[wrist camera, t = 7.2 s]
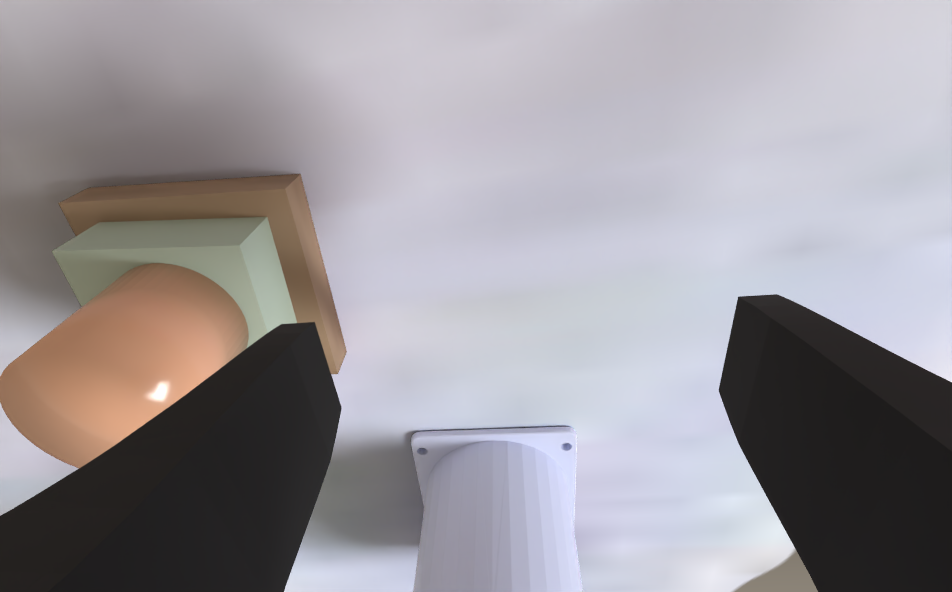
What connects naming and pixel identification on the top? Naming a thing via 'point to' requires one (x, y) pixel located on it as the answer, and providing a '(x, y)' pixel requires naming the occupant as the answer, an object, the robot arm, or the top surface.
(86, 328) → the terracotta cylinder
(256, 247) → the tower top
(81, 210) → the tower base
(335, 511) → the top surface
